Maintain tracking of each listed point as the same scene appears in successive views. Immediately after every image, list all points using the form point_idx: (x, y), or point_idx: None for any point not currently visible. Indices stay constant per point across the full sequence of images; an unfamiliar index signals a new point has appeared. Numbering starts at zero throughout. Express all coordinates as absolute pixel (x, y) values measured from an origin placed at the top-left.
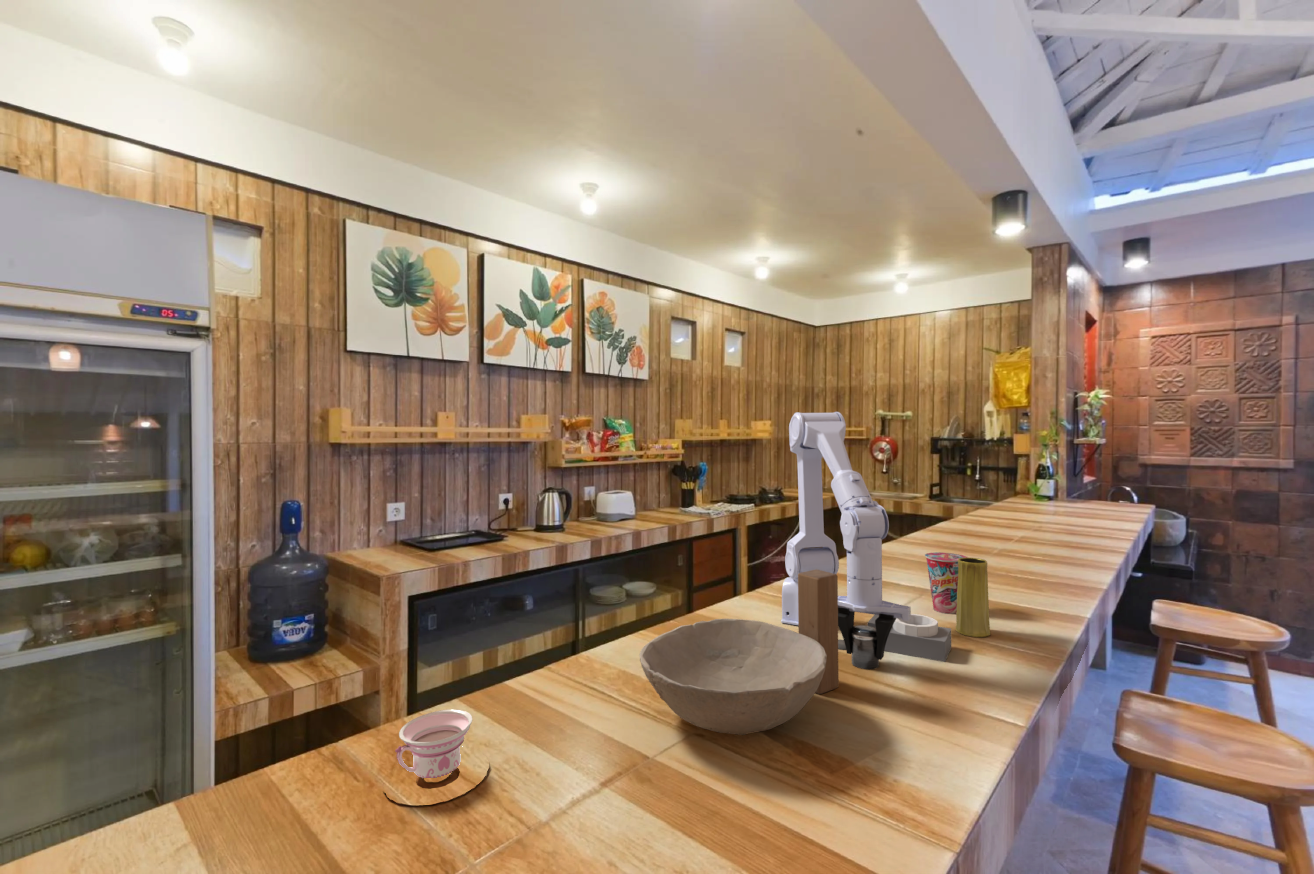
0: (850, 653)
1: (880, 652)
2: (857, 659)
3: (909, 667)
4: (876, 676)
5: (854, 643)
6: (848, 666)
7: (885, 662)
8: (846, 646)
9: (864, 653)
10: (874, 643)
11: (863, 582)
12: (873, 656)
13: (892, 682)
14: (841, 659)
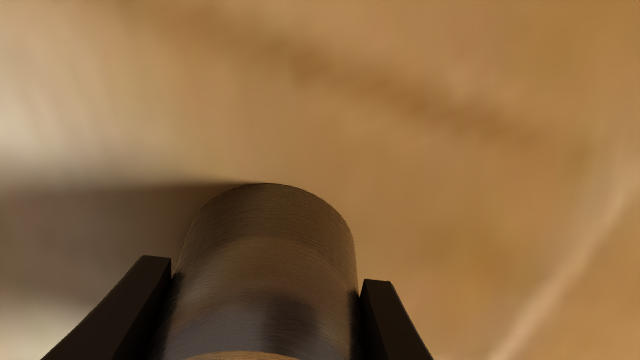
0: (366, 281)
1: (118, 289)
2: (308, 226)
3: (22, 293)
4: (157, 91)
5: (334, 328)
6: (370, 188)
7: None
8: (401, 314)
9: (247, 257)
10: (151, 352)
11: None
12: (187, 263)
13: (17, 22)
14: (420, 272)
